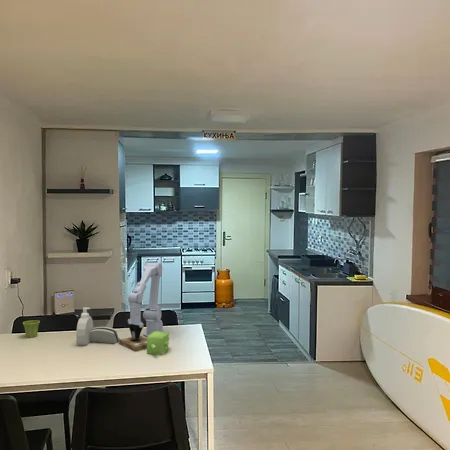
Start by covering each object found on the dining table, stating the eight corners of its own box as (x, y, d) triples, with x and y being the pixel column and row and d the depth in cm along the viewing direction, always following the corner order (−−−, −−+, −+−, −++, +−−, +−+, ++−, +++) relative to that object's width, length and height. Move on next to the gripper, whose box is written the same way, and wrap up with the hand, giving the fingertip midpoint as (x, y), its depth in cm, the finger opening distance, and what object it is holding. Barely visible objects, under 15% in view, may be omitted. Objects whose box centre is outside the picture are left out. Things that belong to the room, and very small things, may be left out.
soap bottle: (85, 346, 242) (85, 311, 242) (76, 346, 242) (75, 311, 241) (94, 338, 258) (93, 305, 258) (85, 338, 258) (84, 305, 258)
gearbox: (161, 359, 224) (161, 341, 223) (143, 356, 226) (143, 338, 225) (172, 347, 241) (173, 331, 240) (156, 345, 243) (156, 329, 243)
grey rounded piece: (120, 340, 254) (118, 326, 250) (117, 345, 249) (114, 331, 246) (94, 338, 257) (91, 324, 253) (90, 343, 253) (87, 329, 249)
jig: (139, 339, 256) (139, 334, 256) (155, 346, 242) (155, 341, 242) (119, 343, 247) (119, 338, 247) (134, 351, 234) (134, 346, 234)
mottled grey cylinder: (136, 340, 249) (136, 329, 249) (139, 341, 246) (139, 331, 246) (130, 341, 246) (130, 331, 246) (134, 342, 244) (134, 332, 244)
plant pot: (22, 335, 264) (22, 321, 264) (39, 333, 268) (39, 319, 268) (22, 339, 256) (22, 324, 256) (40, 337, 260) (40, 323, 260)
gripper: (122, 312, 249) (123, 336, 249) (135, 317, 238) (135, 342, 238) (134, 310, 253) (134, 334, 254) (146, 315, 242) (146, 339, 243)
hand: (135, 337), depth 246 cm, fingers closed on mottled grey cylinder, 4 cm apart
